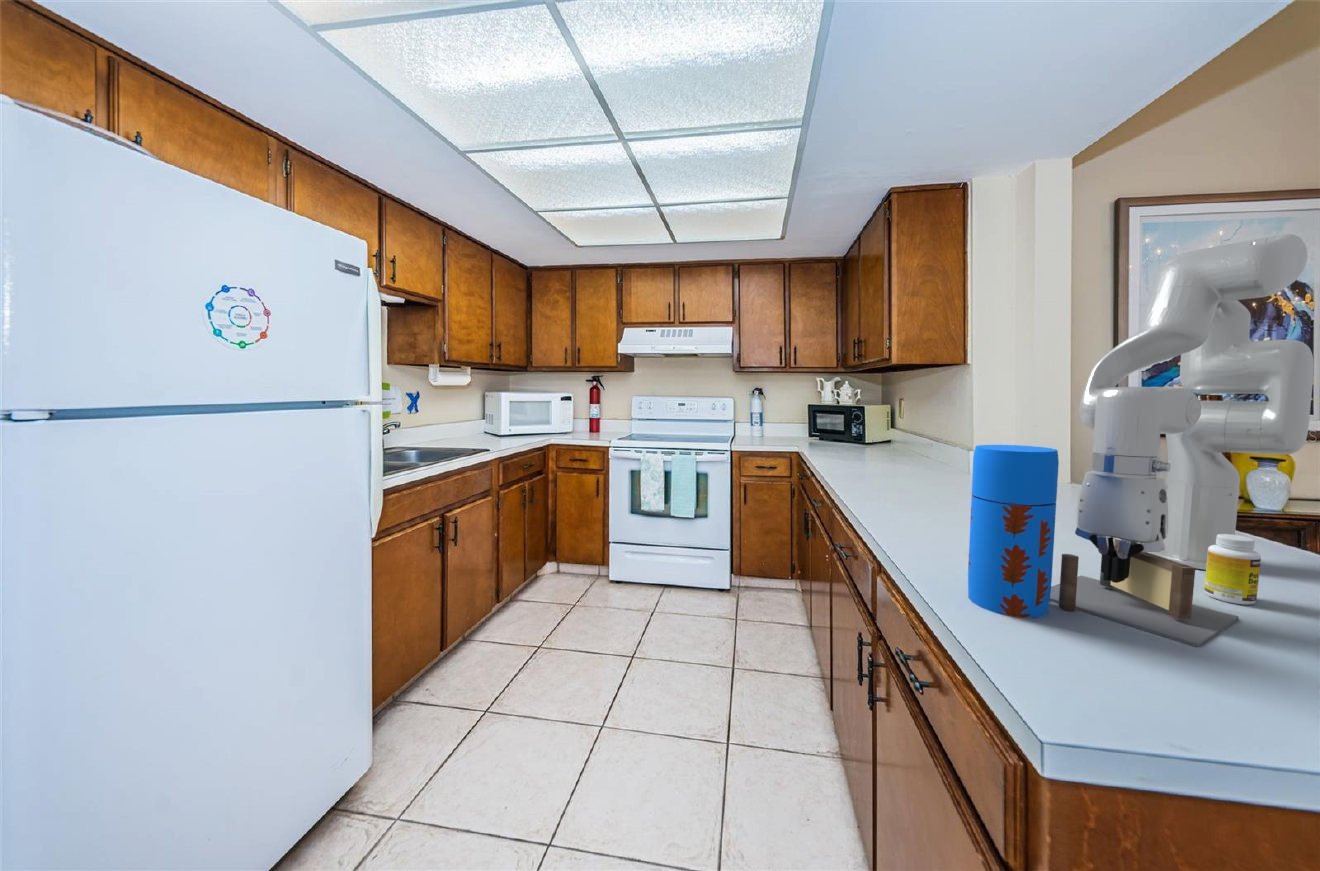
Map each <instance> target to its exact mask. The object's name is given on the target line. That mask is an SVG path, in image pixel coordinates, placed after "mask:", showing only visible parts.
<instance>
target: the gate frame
mask: <svg viewBox="0 0 1320 871" xmlns="http://www.w3.org/2000/svg"><path fill="white" fill-rule="evenodd" d="M1115 541H1116V542H1118V543H1119V544H1120V542H1121V539H1118V538H1115ZM1060 560H1061V562H1060V577H1059V578H1060V580H1059V583H1057V584H1055V585H1053V586H1052V585H1051V593H1050V601H1049V602H1052V603H1055V604H1058V608H1059V609H1061V610H1063V611H1067V612H1076V610H1078V611H1081V612H1085V613H1087V614H1091V615H1094V616H1096V617H1097V616H1098V617H1100V618H1104V619H1107V620H1110V621H1113V622H1116V623H1119V624H1123V625H1125V626H1126V625H1127V626H1129V627H1132V628H1136V629H1139V630H1142V631H1146V632H1149V633H1151V634H1154V635H1159V636H1162V637H1164V638H1168V639H1170V640H1174V641H1177V642H1180V643H1184V644H1186V645H1187V644H1188V645H1190V646H1193V647H1197V648H1199V647H1200V646H1202V645H1204V644H1205V643H1206V642H1208V641H1209V640H1210V639H1212V638H1213V637H1215V636H1216V635H1218V634H1220V633H1221V632H1222V631H1224V630H1225V629H1227V628H1228V627H1230V626H1231V625H1232V624H1233V623H1235V622H1236V621H1238V620H1239V616H1238V615H1235V614H1231V613H1227V612H1222V611H1219V610H1215V609H1211V608H1207V607H1203V606H1201V605H1197V604H1196V605H1195V604H1193V603H1192V613H1191V619H1178V618H1175V617H1173V616H1171V615H1168V613H1169V610H1167V609H1165V608H1162V607H1160V606H1158V605H1155V604H1153V603H1151V602H1148V601H1146V600H1144V599H1142V598H1139V597H1137V596H1135V595H1132V594H1130V593H1128V592H1125V591H1123V590H1121V589H1118V588H1116V587H1106V586H1102V585H1100V579H1095V578H1092V577H1090V576H1085V575H1079V576H1078V572H1079V556H1078V555H1075V554H1071V553H1070V554H1069V553H1061V559H1060Z"/></svg>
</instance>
